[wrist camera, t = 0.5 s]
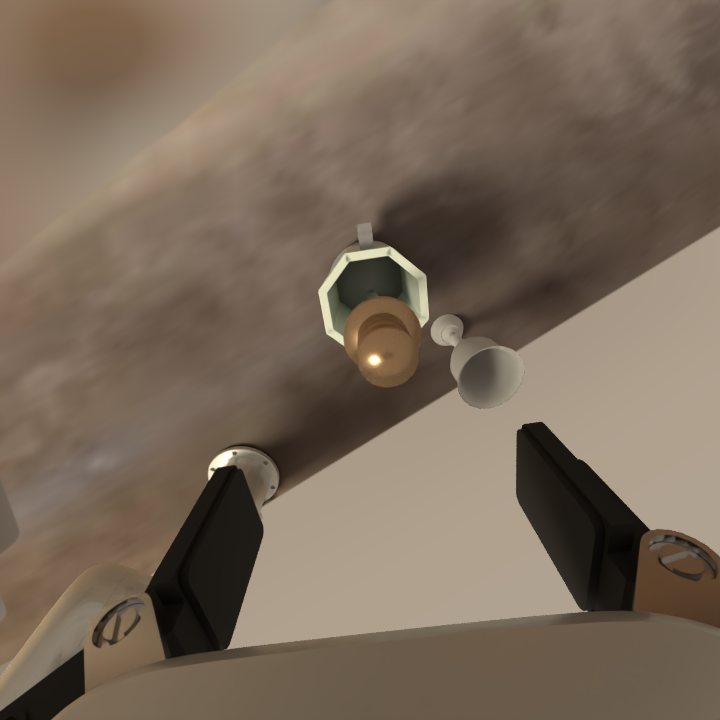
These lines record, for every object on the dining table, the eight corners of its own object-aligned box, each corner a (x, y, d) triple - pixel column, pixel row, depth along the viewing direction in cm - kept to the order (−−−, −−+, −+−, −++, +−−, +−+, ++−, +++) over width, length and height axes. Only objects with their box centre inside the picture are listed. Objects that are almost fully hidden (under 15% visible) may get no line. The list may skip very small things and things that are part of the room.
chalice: (441, 299, 50) (484, 334, 33) (478, 319, 51) (538, 363, 34) (415, 340, 52) (444, 392, 36) (452, 359, 54) (496, 418, 37)
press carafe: (411, 315, 51) (435, 350, 36) (336, 325, 51) (328, 365, 36) (403, 219, 46) (426, 213, 31) (320, 231, 46) (303, 232, 32)
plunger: (397, 314, 41) (438, 395, 21) (352, 320, 41) (348, 407, 21) (392, 266, 39) (432, 306, 19) (344, 274, 39) (333, 320, 19)
